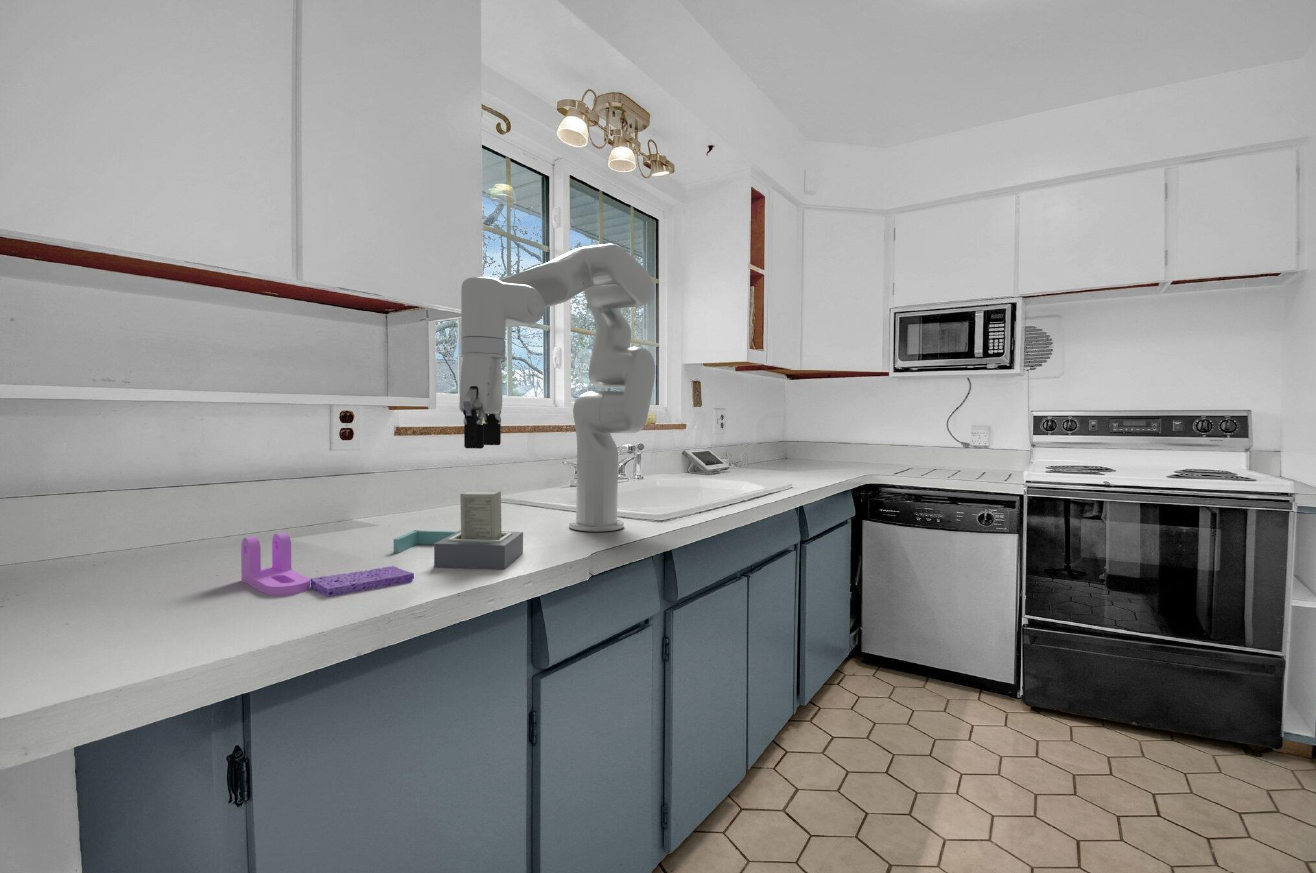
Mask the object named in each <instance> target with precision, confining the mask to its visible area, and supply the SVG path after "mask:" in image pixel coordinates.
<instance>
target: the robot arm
mask: <svg viewBox="0 0 1316 873" xmlns="http://www.w3.org/2000/svg"><path fill="white" fill-rule="evenodd" d="M460 289H461V291H460V292H461V293H460V294H461V295H460V296H461V297H460V301H461V302H460V303H461V304H460V307H461V308H460V309H461V312H460V313H461V314H460V317H461V318H460V319H461V322H460V323H461V324H460V325H461V327H460V328H461V329H460V331H461V332H460V337H461V339H460V340H461V342H460V343H461V344H460V345H461V346H460V347H461V349H460V351H461V352H460V353H461V355H460V357H461V358H462V362H461V363H462V364H461V369H460V370H461V371H460V382H459V383H460V384H459V385H460V386H459V402H458V403H459V405H458V406H459V410H460V412H461V413H462V414H463V415H464V418H463V424H464V425H463V426H464V427H463V428H464V430H463V431H464V433H463V434H464V435H463V436H464V437H463V439H464V440H463V441H464V442H463V443H464V444H463V446H464V448H465V449H475V450H476V449H477V450H478V449H480V450H481V449H483V448H484V447H485V446H500V445H501V444H502V443H501V442H502V439H501V438H502V436H501V434H502V431H501V430H502V428H501V427H502V424H501V422H502V418H501V415H502V409H503V376H502V375H503V371H502V360H505V359H506V328H514V327H515V328H517V327H527V326H528V327H529V326H532V325H534V324H536V323H538V322H539V321H541V319H542V318H543V317H544V315H545V310H546V308H548V307H553V306H556V305H560V304H561V305H562V303H563V304H564V303H566V302H568V301H569V300H571V299H572V298H574V297H575V296H577V295H579V294H581V293H582V292H584V297H585V300H586V302H587V305H588V307H589V309H590V311H591V314H592V316H593V319H594V322H595V336H594V342H593V346H592V352H591V356H590V361H589V364H588V367H589V368H588V379H589V381H590V383H591V384H592V385H593V386H595V387H597V388H601V389H602V388H603V389H624V391H623V390H622V391H621V390H620V391H619V390H615V391H614V390H613V391H612V390H595V391H594V390H593V391H587V392H584V393H582V394H580V395H579V396H578V397H577V398H576V399H575V401H574V404H573V407H572V414H573V415H572V416H573V422H574V427H575V434H576V458H577V459H576V500H575V502H576V503H575V504H576V505H575V506H576V507H575V508H576V509H575V510H576V511H575V519H572V520H570V521H569V522H568V526H569V528H570V529H572V530H575V531H580V532H591V533H592V532H593V533H594V532H596V533H597V532H601V533H603V532H612V531H618V530H622V529H623V528H624V527H625V526H624V521H623V520H620V519H618V487H619V486H618V484H619V482H618V481H619V480H618V477H619V475H618V474H619V472H618V471H619V450H618V447H617V444H616V442H615V439H614V438H613V436H612V434H636V433H639V432H641V431H642V430H643V428H644V427H645V426H646V423H647V420H648V416H649V411H650V407H651V401H652V394H653V390H654V384H655V378H656V363H655V360H654V357H653V355H652V353H651V351H649V350H648V349H646V348H644V347H640V346H631V340H632V329H631V326H630V324H629V323H628V321H627V319H626V318H625V317H624V315H623V314H622V312H621V311H620V309H624V308H637V307H642V306H646V305H647V304H649V303H650V301H651V300H652V298H653V296H654V282H653V279H652V277H651V275H650V273H649V272H648V271H647V270H646V268H644V266H643V265H642V264H641V263H640V262H639V261H637V260H636V259H635V258H634V256H633V255H632V254H630V253H629V252H627V251H626V250H625V249H624V248H623V247H620V245H618V244H615V243H605V244H597V245H595V244H594V245H588V246H582V247H578V248H577V247H576V248H574V249H572V250H570V251H568V252H566V253H564V254H561V255H560V256H558V257H556V258H554V259H552V260H550V261H548V262H545V263H543V264H540V265H536V266H534V267H531V268H529V269H526V270H523V271H521V272H517V273H514V274H512V275H509V276H506V277H503V278H500V279H497V278H492V277H486V276H485V277H484V276H472V277H468V278H465V279H464V281H463V282H462V283H461V288H460ZM483 420H484V422H483Z"/></svg>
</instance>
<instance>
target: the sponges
mask: <svg viewBox="0 0 1316 873" xmlns="http://www.w3.org/2000/svg"><path fill="white" fill-rule="evenodd" d="M414 579H415V572H412V571H408V570H405V569H401V568H399V567H397V566H395V565H392V566H391V565H390V566H385V567H384V566H383V567H378V568H373V569H368V570H364V571H363V570H360V571H355V572H354V571H352V572H347V573H338V574H332V575H328V576H327V575H325V576H324V575H323V576H318V577H317V576H316V577H312V578H310V588H311V589H313V590H314V591H316V590H317V591H316V592H318V593H320V592H321V593H320V595H323V594H324V595H323V596H325V597H327V598H332V597H336V596H342V595H347V594H352V593H357V592H362V590H363V591H367V590H369V591H370V590H371V589H372V588H374V589H379V588H385V587H389V586H394V585H399V584H406V583H411V582H412V581H413V580H414ZM372 590H373V589H372Z"/></svg>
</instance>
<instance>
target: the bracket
mask: <svg viewBox="0 0 1316 873" xmlns="http://www.w3.org/2000/svg"><path fill="white" fill-rule="evenodd" d="M271 541H272V542H271V546H272V547H271V548H272V549H271V557H272V558H271V561H272V563H271V567H268V568H262V567H261V565H262V564H261V562H262V561H261V559H262V558H261V543H260V540H259V538H258V537H257V536H247V537H243V539H242V540H241V545H240V546H241V547H240V548H241V549H240V550H241V551H240V552H241V553H240V554H241V555H240V556H241V561H240V562H241V564H240V567H241V571H240V573H241V580H242V582H243V581H244V582H243V583H245V584H247V583H248V584H247V585H248V586H250V585H251V587H253V588H254V587H255V589H256V588H257V589H256V590H258V591H260V590H261V591H260V592H262V593H263V592H264V593H263V594H266V595H267V594H268V596H274V597H275V596H277V597H278V596H281V597H282V596H289V595H295V594H300V592H301V593H303V592H307V591H308V590H310V589H309V588H311V580H310V579H311V578H310V577H309V576H306V575H303V574H301V573H299V572H297V571H294V570H293V569H292V540H291V536H290V535H289V533H288V532H281V533H280V532H279V533H275V534H273V536H272V540H271ZM241 580H240V581H241ZM306 590H307V591H306Z"/></svg>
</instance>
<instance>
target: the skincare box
mask: <svg viewBox="0 0 1316 873" xmlns="http://www.w3.org/2000/svg"><path fill="white" fill-rule="evenodd" d="M459 494H460V495H459V496H460V497H459V498H460V499H459V500H460V530H461V539H482V540H499V539H500V538H502V537H501V531H502V495H501V494H502V492H501V490H467V491H465V492H461V493H459Z"/></svg>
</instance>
